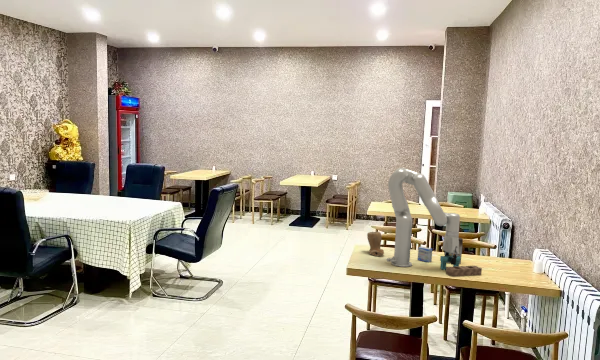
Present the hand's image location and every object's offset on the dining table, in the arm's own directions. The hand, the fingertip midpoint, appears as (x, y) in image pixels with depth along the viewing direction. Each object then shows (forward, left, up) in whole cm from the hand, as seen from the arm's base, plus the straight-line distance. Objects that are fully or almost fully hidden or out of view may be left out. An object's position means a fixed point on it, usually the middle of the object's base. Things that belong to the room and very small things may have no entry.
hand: (450, 262), depth 282 cm
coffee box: (+12, +14, -4) cm, 19 cm away
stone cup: (-30, +41, -4) cm, 51 cm away
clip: (0, 0, -4) cm, 4 cm away
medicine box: (-5, +20, -4) cm, 21 cm away
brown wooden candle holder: (+2, -11, -4) cm, 12 cm away
